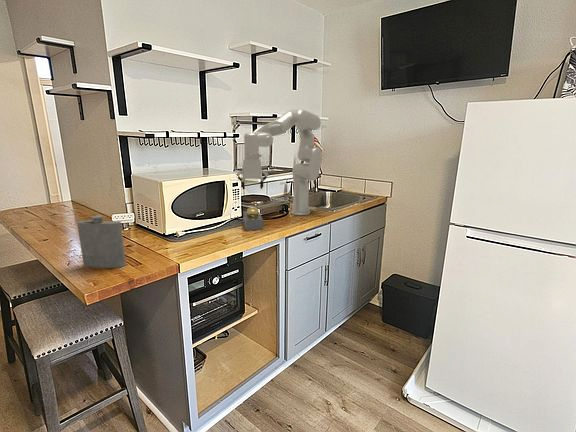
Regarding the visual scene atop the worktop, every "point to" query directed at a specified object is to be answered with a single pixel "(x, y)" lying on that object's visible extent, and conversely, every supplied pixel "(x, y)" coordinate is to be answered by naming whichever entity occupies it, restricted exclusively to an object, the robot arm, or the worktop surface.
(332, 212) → the worktop surface
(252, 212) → the light bulb
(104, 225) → the hip flask
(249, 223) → the gray slotted box
